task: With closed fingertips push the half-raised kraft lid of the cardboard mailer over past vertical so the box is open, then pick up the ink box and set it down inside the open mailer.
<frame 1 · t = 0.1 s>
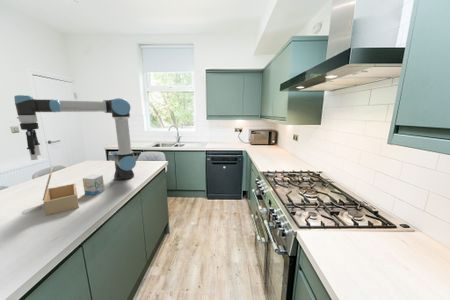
hand: (36, 157, 117), 28 cm above the counter, fingers open, 13 cm apart
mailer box: (63, 203, 117), on the counter
lid: (48, 182, 111), point 15 cm above the counter, hinge at 70.0°
ink box: (95, 192, 134), on the counter
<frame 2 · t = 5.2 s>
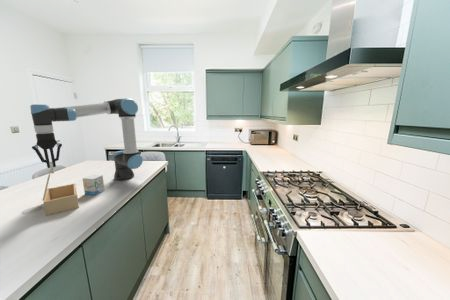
hand: (53, 172, 111), 20 cm above the counter, fingers closed
lid: (47, 182, 111), point 15 cm above the counter, hinge at 71.9°, touching gripper
everything else where it was.
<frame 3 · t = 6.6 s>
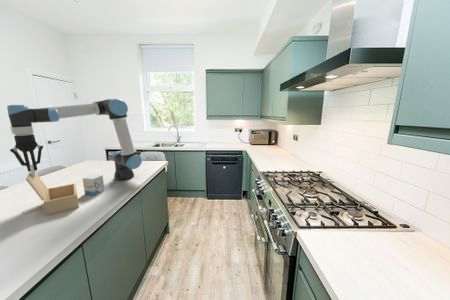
hand: (34, 176, 107), 20 cm above the counter, fingers closed
lid: (37, 183, 108), point 15 cm above the counter, hinge at 107.9°, touching gripper
everything else where it was.
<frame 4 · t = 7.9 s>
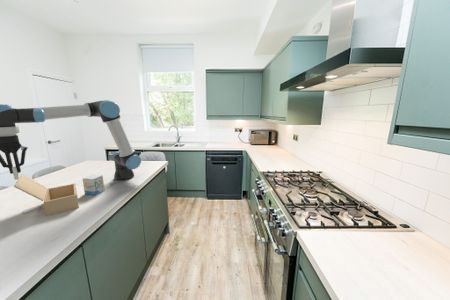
hand: (17, 178, 103), 20 cm above the counter, fingers closed
lid: (32, 187, 107), point 14 cm above the counter, hinge at 130.2°
everything else where it was.
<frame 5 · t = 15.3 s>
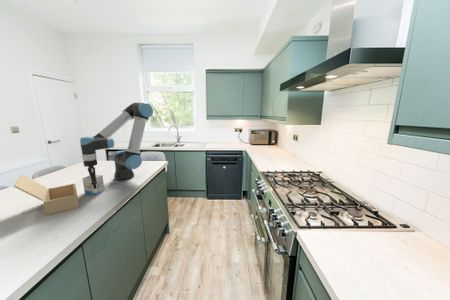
hand: (94, 189, 133), 2 cm above the counter, fingers closed on ink box, 11 cm apart
ink box: (95, 192, 134), on the counter, touching gripper
everything else where it was.
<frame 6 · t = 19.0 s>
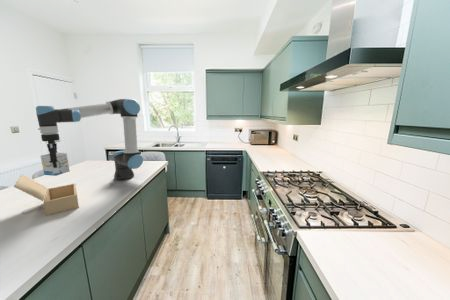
hand: (56, 170, 112), 22 cm above the counter, fingers closed on ink box, 11 cm apart
ink box: (57, 173, 113), point 20 cm above the counter, touching gripper
everything else where it was.
when the fingers open (4 cm above the counter, at t = 22.8 s): ink box drops 1 cm, resting on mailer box.
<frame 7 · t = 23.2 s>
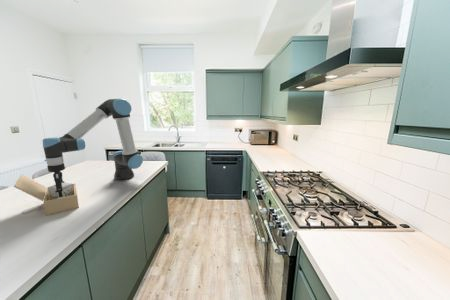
hand: (62, 197, 116), 4 cm above the counter, fingers open, 13 cm apart
ink box: (63, 203, 117), resting on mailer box
everything else where it was.
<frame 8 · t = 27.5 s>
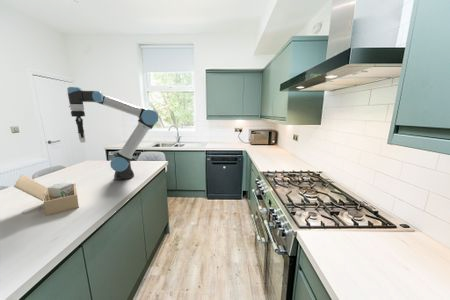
hand: (82, 141, 136), 35 cm above the counter, fingers open, 13 cm apart
nothing on the counter moved.
at the end: lid at +130° (first picture: +70°); ink box inside the target area on the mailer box (0.0 cm from its centre), point 0.4 cm above the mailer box's base; ink box tilted 0° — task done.
